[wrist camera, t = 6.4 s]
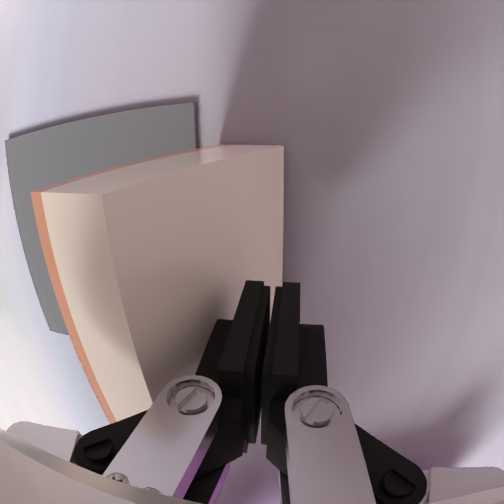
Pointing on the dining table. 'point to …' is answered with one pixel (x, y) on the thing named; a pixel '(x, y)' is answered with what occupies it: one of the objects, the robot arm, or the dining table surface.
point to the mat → (86, 168)
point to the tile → (159, 260)
